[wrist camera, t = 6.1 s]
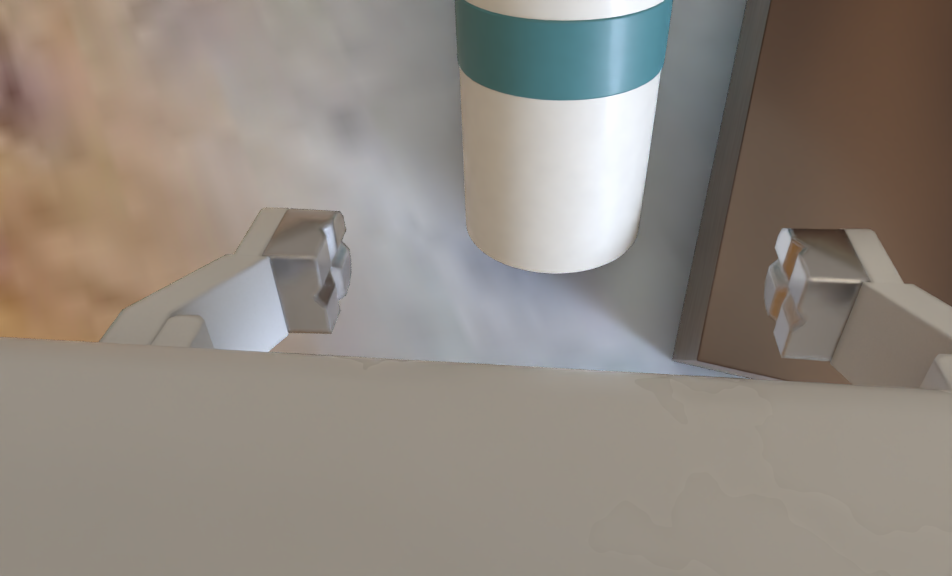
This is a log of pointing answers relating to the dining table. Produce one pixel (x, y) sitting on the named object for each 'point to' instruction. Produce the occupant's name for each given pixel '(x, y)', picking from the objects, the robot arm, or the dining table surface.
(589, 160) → the paper roll
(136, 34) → the dining table surface
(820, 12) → the chopping block
